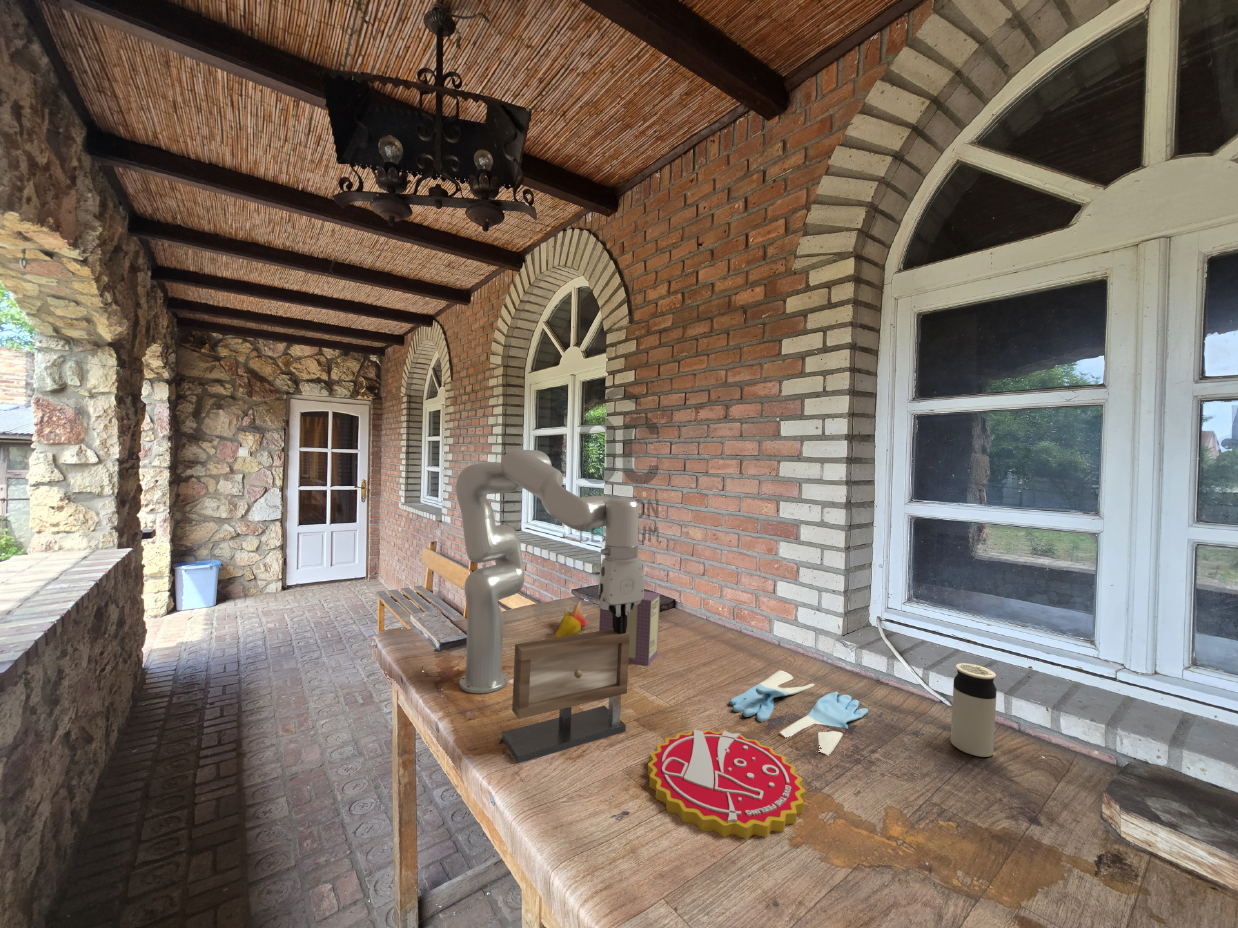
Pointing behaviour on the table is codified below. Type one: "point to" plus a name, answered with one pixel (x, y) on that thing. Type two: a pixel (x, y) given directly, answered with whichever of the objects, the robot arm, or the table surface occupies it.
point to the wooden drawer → (569, 671)
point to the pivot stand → (564, 731)
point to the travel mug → (973, 710)
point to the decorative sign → (726, 783)
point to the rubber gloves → (823, 712)
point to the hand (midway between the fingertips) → (619, 631)
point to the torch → (571, 622)
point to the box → (639, 628)
